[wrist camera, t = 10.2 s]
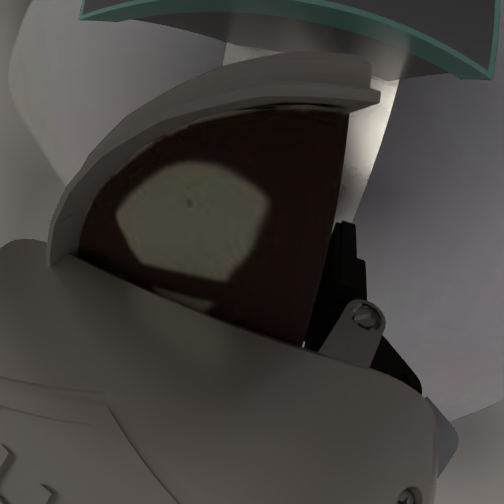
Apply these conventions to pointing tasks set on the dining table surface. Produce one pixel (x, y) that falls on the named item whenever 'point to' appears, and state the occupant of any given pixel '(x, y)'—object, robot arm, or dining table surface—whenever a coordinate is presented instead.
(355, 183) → the rail
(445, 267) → the dining table surface
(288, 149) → the food container
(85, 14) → the block
